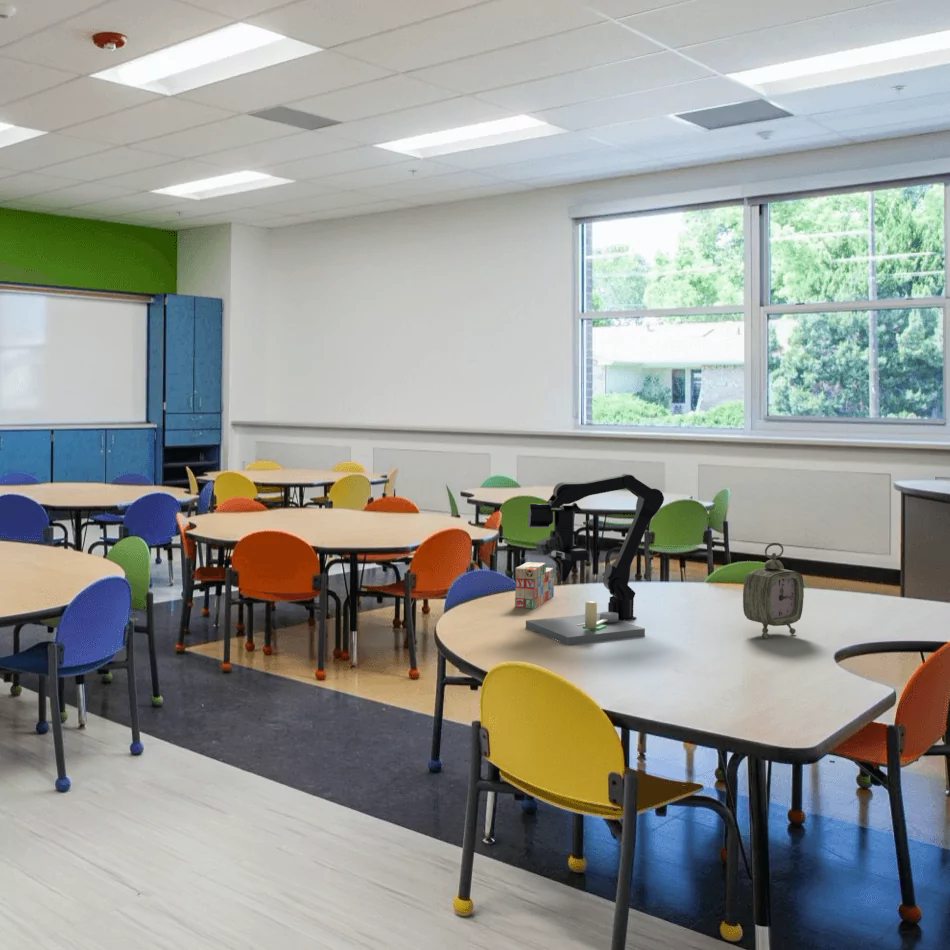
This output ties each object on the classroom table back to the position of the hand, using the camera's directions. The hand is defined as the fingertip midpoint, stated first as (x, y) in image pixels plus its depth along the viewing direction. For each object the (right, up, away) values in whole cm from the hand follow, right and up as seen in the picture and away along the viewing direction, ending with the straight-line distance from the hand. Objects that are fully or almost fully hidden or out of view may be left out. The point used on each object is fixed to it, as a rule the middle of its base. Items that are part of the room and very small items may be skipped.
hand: (563, 581), depth 292 cm
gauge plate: (+4, -12, -15) cm, 20 cm away
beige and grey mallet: (+9, -10, -16) cm, 21 cm away
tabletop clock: (+55, -13, -16) cm, 58 cm away
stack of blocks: (-6, -9, +27) cm, 29 cm away
